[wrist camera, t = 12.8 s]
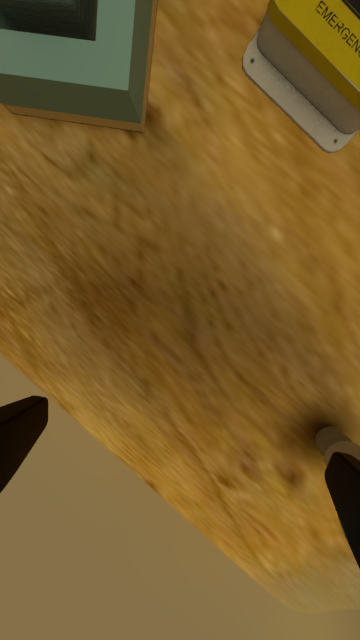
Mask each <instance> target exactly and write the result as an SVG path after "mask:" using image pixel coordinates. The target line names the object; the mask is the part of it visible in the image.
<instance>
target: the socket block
mask: <svg viewBox="0 0 360 640" xmlns="http://www.w3.org/2000/svg"><path fill="white" fill-rule="evenodd" d="M156 10H157V0H98V7H97V26H96V41H90V40H82V39H75V38H67V37H59V36H52V35H44V34H36V33H29V32H21V31H18V30H17V28H16V27H15V26H14V24H13V23H12V22H11V20H10V19H9V18H8V16H7V15H6V14H5V13H4V11H3V10H2V9H1V7H0V103H2V104H3V105H4V106H5V107H6V108H8V109H9V110H10V111H11V112H12V113H14V114H20V115H27V116H34V117H41V118H48V119H55V120H62V121H69V122H76V123H83V124H90V125H97V126H104V127H111V128H118V129H125V130H132V131H139V132H144V130H145V120H146V110H147V100H148V90H149V80H150V70H151V60H152V50H153V40H154V30H155V20H156Z"/></svg>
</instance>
